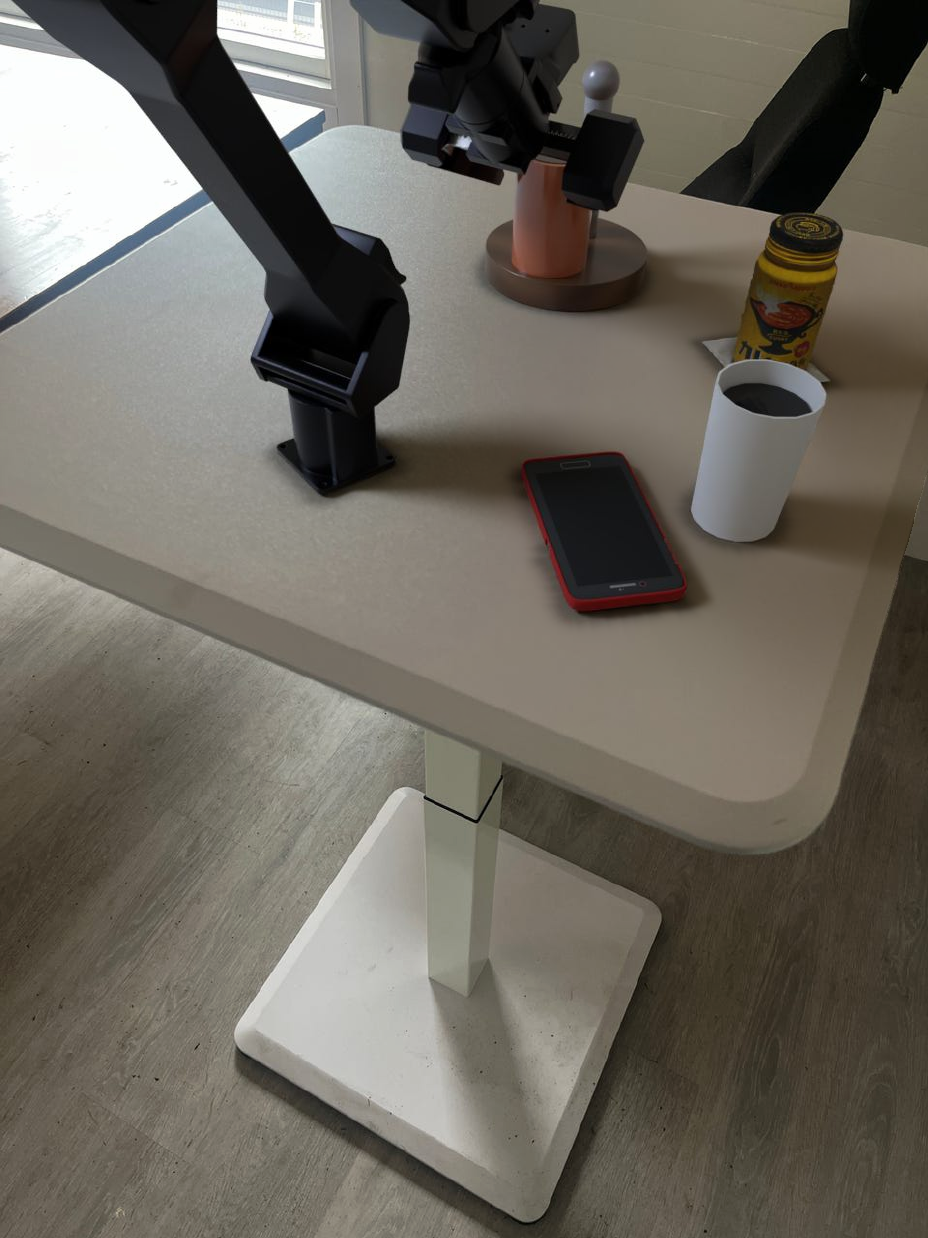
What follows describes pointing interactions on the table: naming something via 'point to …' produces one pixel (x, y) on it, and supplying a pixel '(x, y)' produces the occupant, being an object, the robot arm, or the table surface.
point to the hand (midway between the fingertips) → (547, 191)
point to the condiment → (787, 294)
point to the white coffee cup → (754, 446)
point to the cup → (547, 223)
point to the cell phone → (601, 532)
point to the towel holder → (610, 247)
